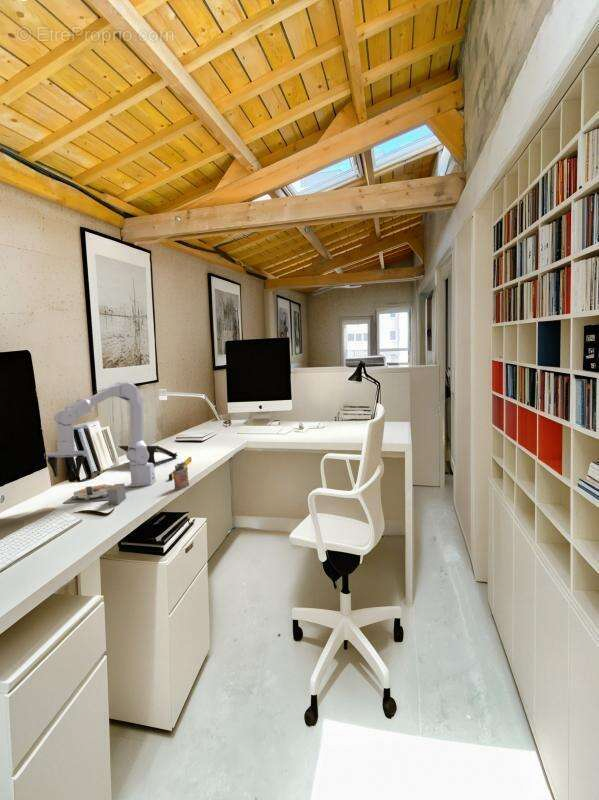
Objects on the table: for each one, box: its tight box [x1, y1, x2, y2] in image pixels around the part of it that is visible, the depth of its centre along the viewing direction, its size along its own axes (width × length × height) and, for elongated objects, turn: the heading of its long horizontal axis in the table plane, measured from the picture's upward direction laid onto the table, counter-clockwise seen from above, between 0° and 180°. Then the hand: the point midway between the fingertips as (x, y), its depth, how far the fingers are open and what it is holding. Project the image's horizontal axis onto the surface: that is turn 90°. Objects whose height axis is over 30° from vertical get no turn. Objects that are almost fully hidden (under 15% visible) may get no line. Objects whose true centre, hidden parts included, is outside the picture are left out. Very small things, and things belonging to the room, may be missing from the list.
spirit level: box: [168, 456, 193, 481], centre depth 215 cm, size 33×1×3 cm, turn 179°
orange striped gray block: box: [107, 483, 127, 507], centre depth 172 cm, size 4×8×6 cm, turn 1°
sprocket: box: [72, 483, 115, 500], centre depth 183 cm, size 17×17×4 cm
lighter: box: [172, 461, 190, 491], centre depth 186 cm, size 8×3×10 cm, turn 160°
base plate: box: [62, 485, 128, 505], centre depth 184 cm, size 18×18×1 cm
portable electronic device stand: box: [118, 445, 179, 464], centre depth 238 cm, size 23×23×9 cm
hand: (67, 475), depth 176 cm, fingers open, 7 cm apart
